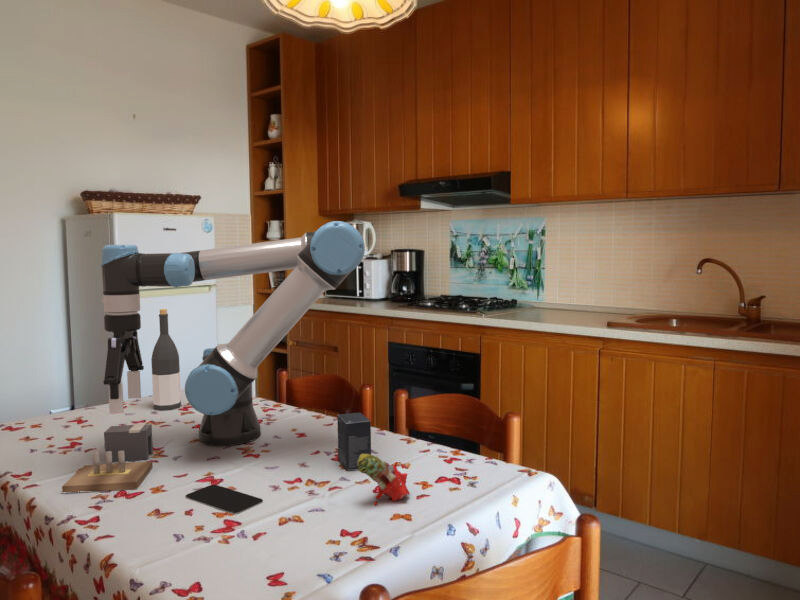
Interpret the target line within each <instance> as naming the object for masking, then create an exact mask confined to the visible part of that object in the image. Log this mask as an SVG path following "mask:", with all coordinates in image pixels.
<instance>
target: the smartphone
mask: <svg viewBox="0 0 800 600" xmlns="http://www.w3.org/2000/svg"><path fill="white" fill-rule="evenodd" d="M185 499H187V500H191V501H194V502H195V503H198V504H201V505H205V506H207V507H210V508H213V509H216V510H218V511H219V510H220V511H221V512H224V513H227V514H231V515H239V514H242V513H243V512H246V511H249V510H250V509H253V508H255V507H257V506H258V505H260V504H263V502H264V500H263V498H260V497H256V496H253V495H250V494H247V493H244V492H241V491H237V490H235V489H231V488H227V487H224V486H220V485H218V484H211V485H206V486H205V487H202V488H200V489H197V490H195V491H193V492H190V493H187V494H186V495H185Z"/></svg>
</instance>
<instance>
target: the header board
mask: <svg viewBox="0 0 800 600" xmlns="http://www.w3.org/2000/svg"><path fill="white" fill-rule="evenodd" d="M104 457H106V460H105V463H100V451H93V452H92V464H84V465H83V466H82V467H81V468H80V469H79V470H78V471H76V473H75V474H73V475H72V476H71V477H70V478H69V480H67V481H66V482H65V483H64V484H63V485H61V489H62V490H61V491H62V492H78V491H79V492H80V491H98V492H107V491H106V490H114V491H127V489H130V490H138V488H139V487H140V486H141V484H142V483H143V482H144V480H145V479H146V478H147V476H148V475H149V474H150V472H151V471H152V470H153V461H150V460H149V461H130V462H125V455H124V451H123V450H122V451H118V462H112V451H107V452H105V451H104ZM62 492H61V493H62Z"/></svg>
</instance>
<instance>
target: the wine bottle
mask: <svg viewBox="0 0 800 600" xmlns="http://www.w3.org/2000/svg"><path fill="white" fill-rule="evenodd" d="M158 317H159V321H158V322H159V336H158V338H157V340H156V343H155V344H154V348H153V350H152V354H151V377H152V378H151V379H152V382H151V383H152V397H153V398H152V399H153V401H152V402H153V403H152V404H153V409H154V410H155V411H162V412H163V411H172V410H176V409H180V408H181V405H182V394H181V392H182V391H181V371H180V355H179V350H178V349H177V346H176V344H175V342H174V340H173V338H172V337H171V335H170V334H169V314H168V309H167V308H161V309H159V314H158Z"/></svg>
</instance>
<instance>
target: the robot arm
mask: <svg viewBox="0 0 800 600" xmlns="http://www.w3.org/2000/svg"><path fill="white" fill-rule="evenodd" d="M364 255H365V242H364V238H363V236H362V234H361V233H360V231H359V230H358V229H357V228H356V227H354V225H351V223H348V222H345V221H341V220H340V221H339V220H336V221H335V220H333V221H329V222H326V223H324V224H323V225H322V226H320V227H319V228H318V229H317V230H314V231H310V232H305V233H304V234H303V235H302V236H301V237H294V238H287V239H278V240H271V241H264V242H255V243H249V244H248V243H246V244H242V245H241V244H240V245H232V246H231V245H230V246H225V247H217V248H209V249H202V250H193V251H184V252H183V251H182V252H174V253H172V252H169V253H167V252H166V253H165V252H164V253H142V252H141V253H140V252H139V249H138V246H137V245H136V244H107V245H104V246H103V247H102V249H101V265H100V266H101V274H102V275H101V276H102V297H103V298H101V303H103V311H104V313H106V314H105V315H104V316H103V321H104V322H103V324H104V330H105V331H106V332H108V333H112V334H113V335H112V337H108V338H107V352H106V353H107V354H106V361H105V362H106V364H105V371H104V378H103V383H102V384H103V385H104V386H107V387H108V409H109V414H111V415H112V414H113V415H115V414H123V413H125V412H124V409H125V408H124V391H123V390H124V388H123V387H124V386H123V385H124V384H123V382H122V376H123V373H124V367H125V366H124V365H125V363H126V366H127V369H128V371H127V373H126V374H127V375H126V376H127V394H128V395H127V398H128V399H129V400H130V399H141V398H142V391H141V389H142V388H141V387H142V386H141V371H143V370H144V368H145V367H144V365H143V364H144V363H143V360H142V354H141V349H140V344H139V339H138V330H140V329H141V328H142V323H141V322H142V321H141V314H140V313H139V312H140V311H141V298H140V297H141V295H140V292H141V291H140V287H143V288H144V287H156V288H157V287H158V288H159V287H161V288H162V287H164V288H165V287H170V288H171V287H173V288H178V287H179V288H180V287H189V286H191V285H192V284H193V283H196V282H204V281H210V280H217V279H226V278H227V279H228V278H233V277H235V278H236V277H241V276H249V275H257V274H265V273H266V274H267V273H273V272H281V271H289V270H291V272H290V273H289V274H288V275H287V277H285V279H284V280H283V281H282V282H281V283H280V284H279V286H277V288H276V289H275V290H274V291H273V293H271V294H270V295H269V297H268V298H267V299H266V300H265V301H264V302H263V303H262V305H261V306H260V307H259V308H258V309H257V310H256V311H255V312H254V314H253V315H252V316H251V317H250V318H249V319H248V321H246V323H245V324H244V325H243V326H242V327H241V328H240V330H238V331H237V332H236V333H235V335H234V336H233V337H232V338H231V340H230V341H229V342H227V343H219V344H217V345H216V346H215V347H211V348H210V347H209V348H205V349H204V350H203V354H202V362H201V363H200V364H199V365H198V366H196V367H195V368H194V369H192V371H190V373H189V374H188V375H187V378H186V380H185V384H184V394H185V397H186V400H187V401H188V404H189V405H190V406H191V407H192V408H193V409H194V410H196V412H199V413H200V414H203V416H202V418H201V419H202V420H201V422H200V426H199V429H198V441H199V442H200V443H202V444H204V445H208V446H217V447H218V446H220V447H221V446H224V447H225V446H235V445H241V444H245V443H249V442H252V441H254V440H257V439H258V438H259V437H260V436H261V435H262V433H261V432H262V431H261V425H260V421H259V418H258V416H257V414H256V410H255V408H254V404H253V403H254V401H253V383H254V381H255V380H256V379H257V378H258V367H259V366H260V365H261V364H262V363H263V361H264V360H265V359H266V357H268V355H269V354H270V353H271V352H272V351H273V350H274V349H275V348H276V346H277V345H278V344H279V343H280V342H281V341H282V340H283V338H285V337H286V336H287V334H288V333H290V331H291V330H292V329H293V328H294V327H295V325H296V324H297V323H298V322H299V321H300V320H301V318H303V316H304V315H305V314H306V313H307V312H308V311H309V309H311V307H312V306H313V305H314V304H315V303H316V302H317V301H318V300H319V298H320V297H322V295H323V294H324V293H325V292H326V291H329V290H333V291H334V290H336V289H337V288H338V287H339V286H340V285H341V283H343V281H344V280H345V279H346V278H347V277H348V275H350V274H351V273H352V272H353V271H354V270H355V269H356V268H357V267H358V266H359V265H360V263H361V262H362V261H363V258H364Z"/></svg>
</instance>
